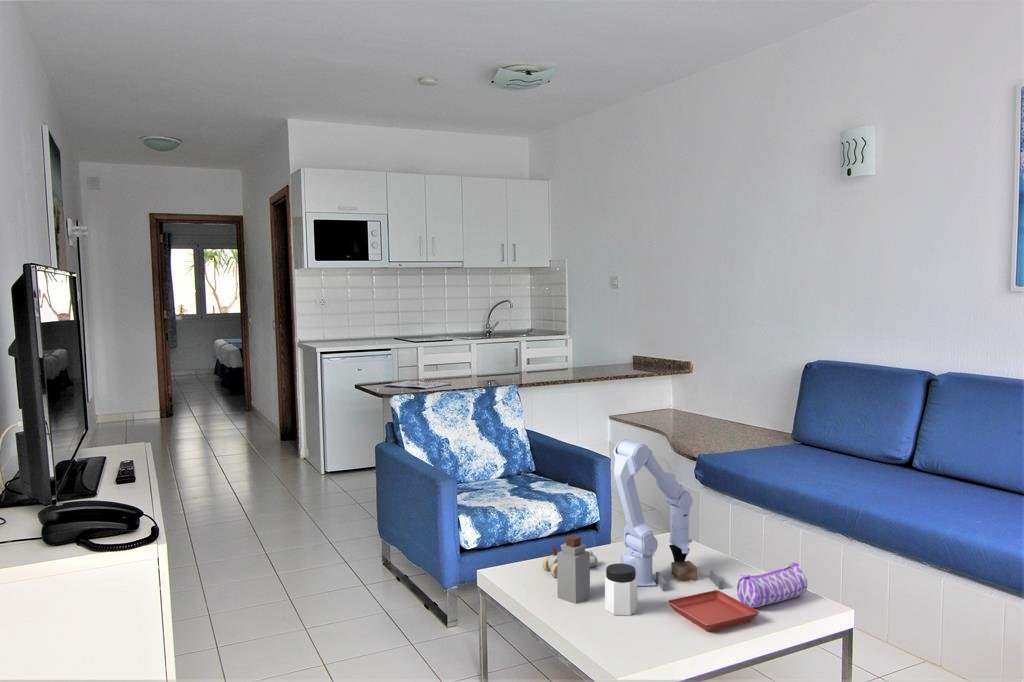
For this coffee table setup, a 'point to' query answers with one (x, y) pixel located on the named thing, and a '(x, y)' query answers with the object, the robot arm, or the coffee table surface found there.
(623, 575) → the jar
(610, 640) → the coffee table surface
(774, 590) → the pencil case
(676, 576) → the walnut block
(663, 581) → the lane
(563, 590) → the perfume bottle
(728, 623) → the plant saucer
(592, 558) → the toy dog
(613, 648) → the coffee table surface
